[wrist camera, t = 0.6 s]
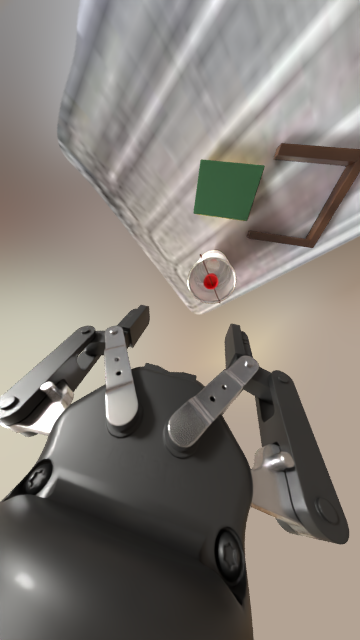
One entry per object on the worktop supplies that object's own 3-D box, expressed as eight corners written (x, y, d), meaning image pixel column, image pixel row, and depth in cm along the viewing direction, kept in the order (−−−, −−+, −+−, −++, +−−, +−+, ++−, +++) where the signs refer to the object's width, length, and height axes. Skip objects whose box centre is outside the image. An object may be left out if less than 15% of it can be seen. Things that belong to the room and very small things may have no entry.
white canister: (236, 277, 35) (243, 298, 25) (204, 289, 38) (199, 312, 29) (223, 235, 31) (225, 242, 21) (188, 253, 34) (177, 266, 25)
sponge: (202, 165, 25) (200, 159, 23) (259, 171, 24) (265, 165, 22) (195, 214, 30) (193, 213, 27) (244, 220, 28) (247, 220, 26)
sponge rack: (277, 148, 23) (281, 143, 21) (361, 155, 21) (373, 150, 20) (246, 237, 30) (248, 238, 28) (307, 246, 29) (313, 248, 27)
